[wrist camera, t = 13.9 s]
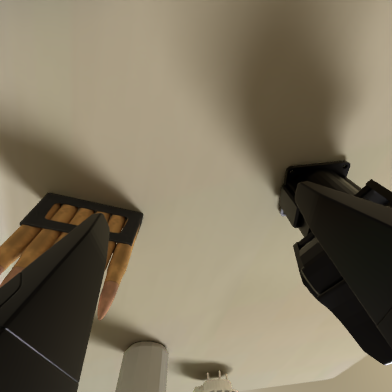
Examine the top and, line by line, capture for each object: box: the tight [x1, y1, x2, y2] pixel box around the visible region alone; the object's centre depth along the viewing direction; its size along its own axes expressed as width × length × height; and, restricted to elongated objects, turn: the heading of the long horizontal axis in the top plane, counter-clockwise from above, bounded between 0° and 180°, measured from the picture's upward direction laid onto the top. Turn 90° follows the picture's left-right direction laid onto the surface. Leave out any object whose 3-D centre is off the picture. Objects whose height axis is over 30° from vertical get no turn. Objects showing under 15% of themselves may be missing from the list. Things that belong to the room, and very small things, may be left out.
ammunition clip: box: [0, 193, 143, 320], centre depth 20 cm, size 11×2×12 cm, turn 72°
